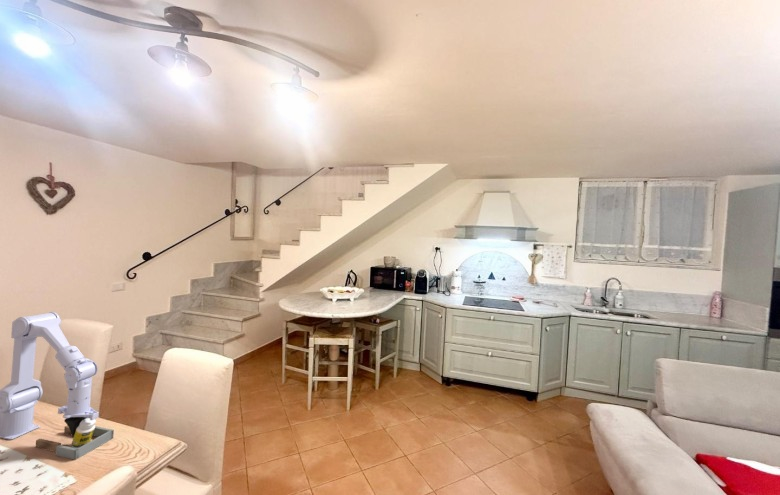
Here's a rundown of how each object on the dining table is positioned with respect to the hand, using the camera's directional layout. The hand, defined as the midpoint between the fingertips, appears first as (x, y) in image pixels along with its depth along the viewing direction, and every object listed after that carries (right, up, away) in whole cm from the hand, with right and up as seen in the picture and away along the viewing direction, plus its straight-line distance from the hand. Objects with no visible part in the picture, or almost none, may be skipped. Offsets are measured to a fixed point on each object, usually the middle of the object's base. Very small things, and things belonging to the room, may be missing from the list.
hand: (76, 436), depth 106 cm
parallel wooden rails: (-6, -2, +1) cm, 6 cm away
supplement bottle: (+2, -3, 0) cm, 3 cm away
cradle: (+4, -3, -1) cm, 5 cm away
